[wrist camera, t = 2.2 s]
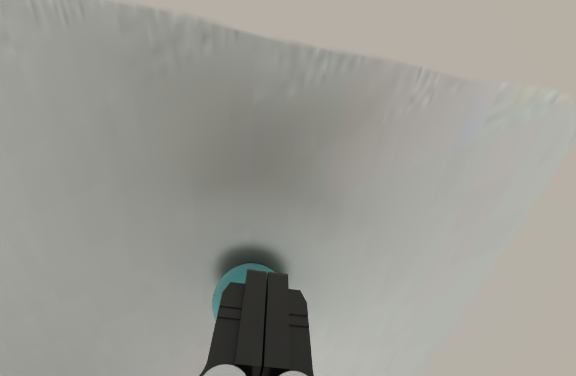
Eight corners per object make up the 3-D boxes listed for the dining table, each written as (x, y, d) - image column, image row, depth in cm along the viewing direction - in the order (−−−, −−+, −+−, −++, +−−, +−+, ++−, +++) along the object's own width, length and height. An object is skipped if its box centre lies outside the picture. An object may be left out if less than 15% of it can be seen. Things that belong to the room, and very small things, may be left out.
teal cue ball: (248, 308, 28) (241, 369, 23) (205, 269, 26) (187, 328, 21) (300, 279, 26) (304, 339, 21) (258, 236, 24) (253, 291, 19)
